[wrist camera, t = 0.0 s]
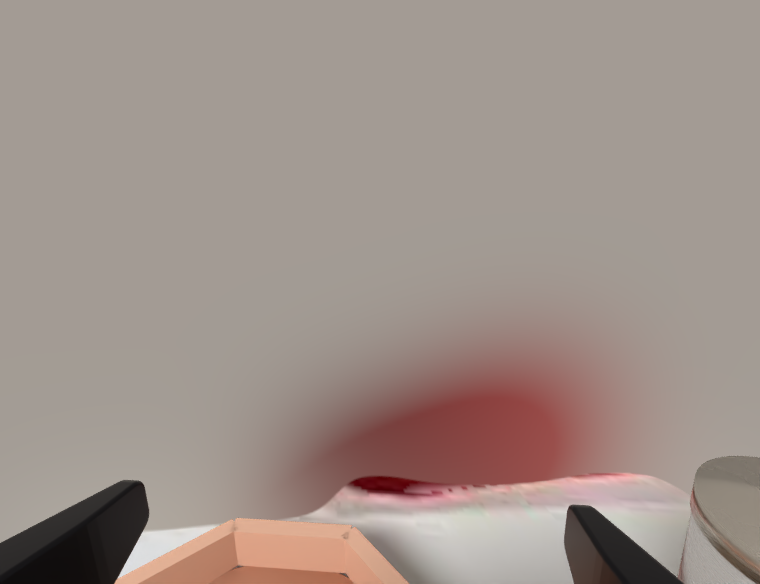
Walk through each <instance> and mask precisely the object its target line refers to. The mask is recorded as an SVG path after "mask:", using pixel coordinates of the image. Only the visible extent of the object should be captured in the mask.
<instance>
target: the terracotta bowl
mask: <svg viewBox="0 0 760 584" xmlns="http://www.w3.org/2000/svg"><path fill="white" fill-rule="evenodd" d="M238 565H240V566H243V567H239V568H235V567H236V566H238ZM233 568H235V569H233ZM231 569H232V570H231ZM339 573H346V574H347V576H348V577H349V578H350V579H349V578H347V577H346V576H344V575H342V574H339ZM114 584H409V583H408V582H407V581H406V580H405V579H404V578H403V577H402V576H401V574H400V573H399V572H398V571H397V570H396V569H395V568H394V567H393V566H392V565H391V564H390V563H389V562H388V561H387V560H386V559H385V558H384V557H383V556H382V555H381V553H380V552H379V551H378V550H377V549H376V548H375V547H374V546H373V545H372V544H371V543H370V542H369V541H368V540H367V539H366V538H365V537H364V536H363V535H362V534H361V532H360V531H359V530H358V529H357V528H356V527H354V528H352V525H340V524H324V523H308V522H292V521H276V520H260V519H244V518H236V520H235V522H234V521H233V519H232V520H229V521H228V522H226V523H224V524H222V525H220V526H218V527H216V528H214V529H212V530H210V531H208V532H207V533H205V534H203V535H201V536H199V537H197V538H195V539H193V540H191V541H189V542H187V543H185V544H184V545H182V546H180V547H178V548H176V549H174V550H172V551H170V552H168V553H166V554H164V555H162V556H161V557H159V558H157V559H155V560H153V561H151V562H149V563H147V564H145V565H143V566H141V567H139V568H138V569H136V570H134V571H132V572H130V573H128V574H126V575H124V576H122V577H120V578H118V579H117V580H116V582H115V583H114Z"/></svg>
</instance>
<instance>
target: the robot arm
mask: <svg viewBox="0 0 760 584" xmlns="http://www.w3.org/2000/svg"><path fill="white" fill-rule="evenodd" d="M148 518H149V508H148V502H147V497H146V492H145V487H144V485H143V483H142V482H141V481H134V480H123V481H120V482H118V483H116V484H114V485H112V486H110V487H108V488H106V489H104V490H102V491H100V492H98V493H96V494H94V495H93V496H91V497H89V498H87V499H85V500H83V501H81V502H79V503H77V504H75V505H73V506H71V507H69V508H67V509H65V510H63V511H61V512H60V513H58V514H56V515H54V516H52V517H50V518H48V519H46V520H44V521H42V522H40V523H38V524H36V525H34V526H32V527H30V528H28V529H27V530H25V531H23V532H21V533H19V534H17V535H15V536H13V537H11V538H9V539H7V540H5V541H3V542H1V543H0V584H114V583H115V582H116V580H117V578H118V576H119V574H120V572H121V570H122V569H123V567H124V565H125V563H126V561H127V559H128V558H129V556H130V554H131V552H132V550H133V548H134V546H135V545H136V543H137V541H138V539H139V537H140V535H141V534H142V532H143V530H144V528H145V526H146V524H147V521H148ZM564 545H565V551H566V555H567V559H568V562H569V566H570V570H571V573H572V577H573V580H574V584H684V583H683V582H682V581H681V580H679V579H678V578H677V577H676V576H675V575H673V574H672V573H671V572H670V571H669V570H667V569H666V568H665V567H664V566H663V565H661V564H660V563H659V562H658V561H657V560H655V559H654V558H653V557H652V556H651V555H649V554H648V553H647V552H646V551H645V550H644V549H642V548H641V547H640V546H639V545H638V544H636V543H635V542H634V541H633V540H632V539H630V538H629V537H628V536H627V535H626V534H624V533H623V532H622V531H621V530H620V529H618V528H617V527H616V526H615V525H614V524H613V523H611V522H610V521H609V520H608V519H607V518H605V517H604V516H603V515H602V514H601V513H599V512H598V511H597V510H596V509H595V508H593V507H591V506H588V505H571V506H569V508H568V511H567V518H566V527H565V535H564Z"/></svg>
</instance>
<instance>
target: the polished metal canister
mask: <svg viewBox="0 0 760 584" xmlns="http://www.w3.org/2000/svg"><path fill="white" fill-rule="evenodd" d="M690 507H691V516H690V521H689V526H688V530H687V535H686V540H685V545H684V549H683V554H682V559H681V563H680V568H679V573H678V579H679V580H681V581H682V582H683V583H684V584H760V458H758V457H747V456H728V457H720V458H715V459H712V460H709V461H707V462H705V463H704V464H702V465H701V466H700V467H699V468H698V470H697V472H696V475H695V479H694V484H693V489H692V494H691V500H690Z"/></svg>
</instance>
